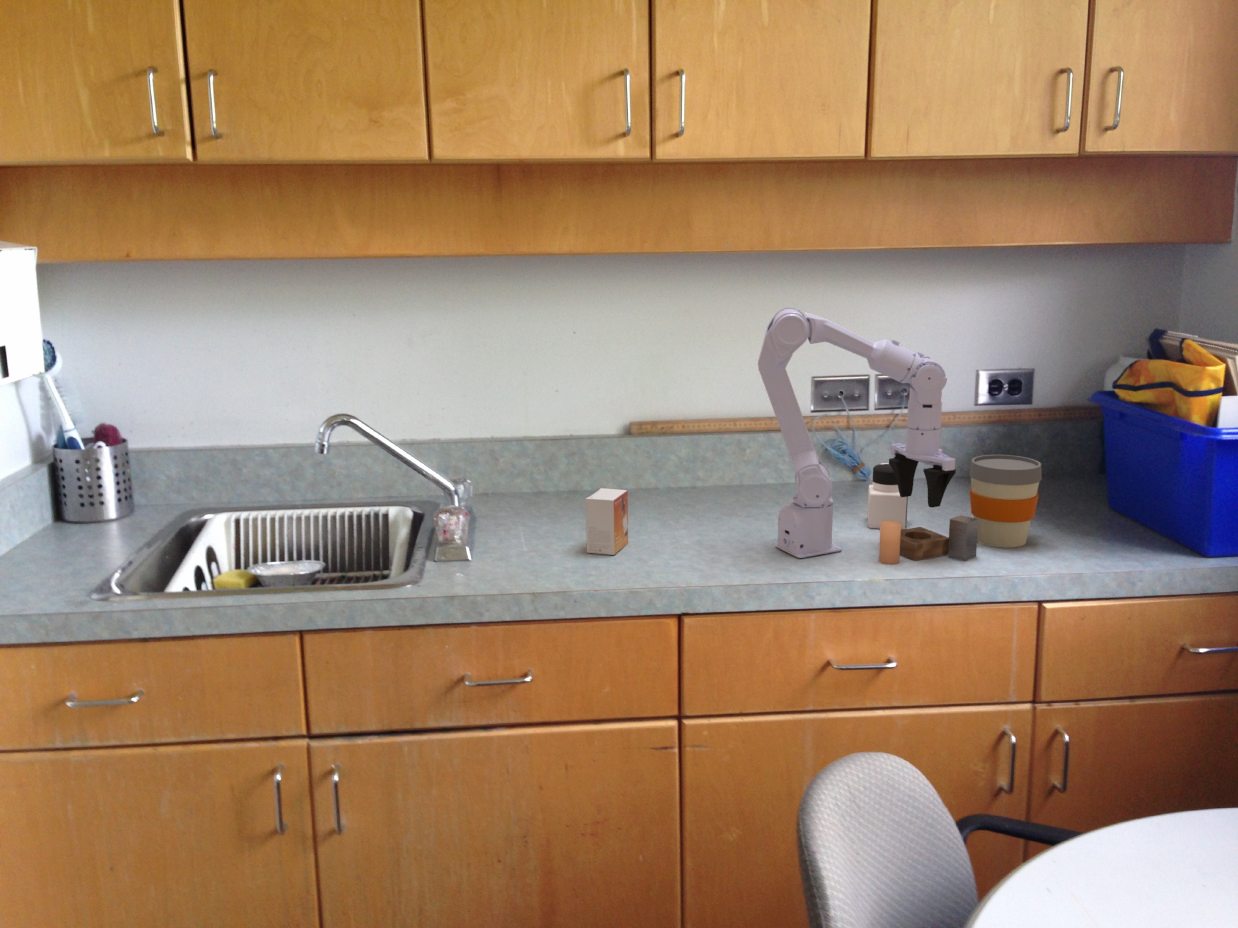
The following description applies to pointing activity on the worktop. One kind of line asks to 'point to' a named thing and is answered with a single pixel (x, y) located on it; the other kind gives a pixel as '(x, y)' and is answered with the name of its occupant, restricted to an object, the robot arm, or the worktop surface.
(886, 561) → the round bit
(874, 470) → the medicine bottle
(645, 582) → the worktop surface
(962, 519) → the square bit
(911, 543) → the bore block
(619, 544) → the small box
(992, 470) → the reusable coffee cup
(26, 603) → the worktop surface
